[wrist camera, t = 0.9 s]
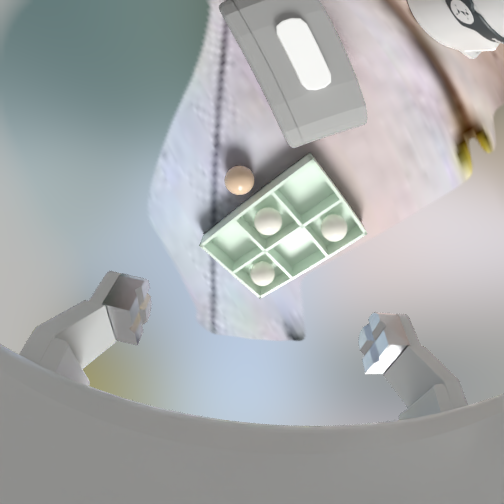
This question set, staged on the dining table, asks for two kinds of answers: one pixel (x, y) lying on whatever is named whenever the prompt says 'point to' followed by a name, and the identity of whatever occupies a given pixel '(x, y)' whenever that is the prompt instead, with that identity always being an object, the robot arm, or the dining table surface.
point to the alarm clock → (298, 66)
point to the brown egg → (239, 180)
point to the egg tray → (283, 227)
